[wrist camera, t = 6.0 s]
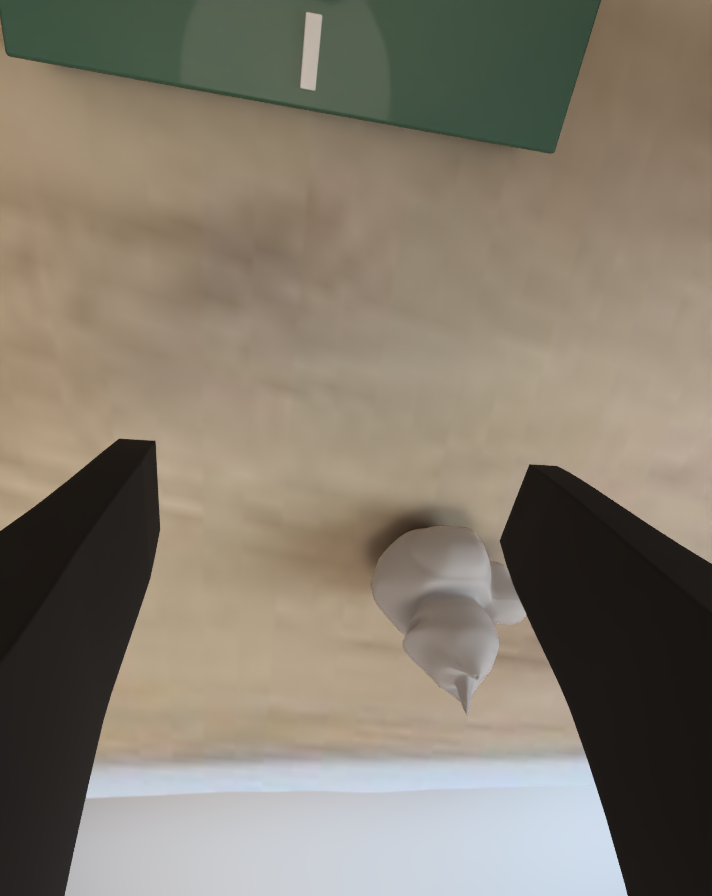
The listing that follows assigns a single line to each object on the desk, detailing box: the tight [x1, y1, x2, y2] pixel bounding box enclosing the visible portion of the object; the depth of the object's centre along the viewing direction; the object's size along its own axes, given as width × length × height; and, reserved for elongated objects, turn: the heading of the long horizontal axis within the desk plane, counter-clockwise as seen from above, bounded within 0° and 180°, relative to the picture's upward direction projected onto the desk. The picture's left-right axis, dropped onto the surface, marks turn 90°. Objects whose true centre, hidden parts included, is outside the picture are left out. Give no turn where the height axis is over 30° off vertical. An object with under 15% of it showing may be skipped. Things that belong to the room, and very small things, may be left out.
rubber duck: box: [371, 526, 526, 715], centre depth 21 cm, size 5×7×8 cm
